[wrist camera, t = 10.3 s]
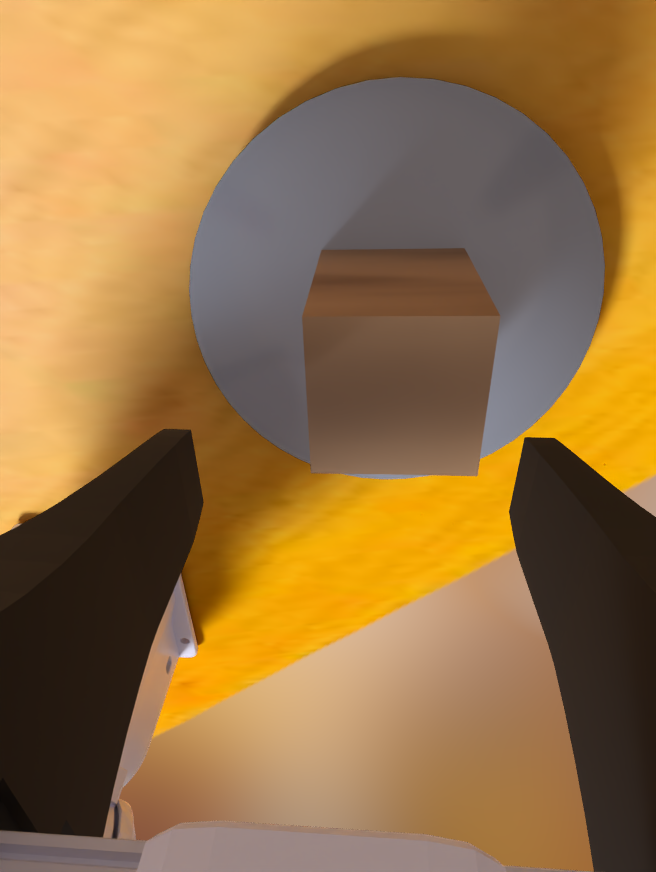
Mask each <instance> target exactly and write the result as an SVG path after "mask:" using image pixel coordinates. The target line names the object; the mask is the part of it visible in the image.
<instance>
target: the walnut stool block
mask: <svg viewBox="0 0 656 872" xmlns="http://www.w3.org/2000/svg"><path fill="white" fill-rule="evenodd" d="M499 323H500V314H499V312H498V310H497V308H496V307H495V305H494V303H493V301H492V299H491V297H490V295H489V293H488V291H487V290H486V288H485V286H484V284H483V282H482V280H481V278H480V276H479V274H478V273H477V271H476V269H475V267H474V265H473V263H472V261H471V259H470V257H469V256H468V254H467V252H466V250H465V248H436V249H352V250H321V253H320V257H319V260H318V264H317V267H316V270H315V274H314V277H313V281H312V284H311V288H310V291H309V294H308V298H307V301H306V305H305V308H304V312H303V315H302V325H303V342H304V360H305V378H306V395H307V413H308V431H309V448H310V466H311V473H331V474H391V475H450V476H477V475H478V468H479V461H480V454H481V447H482V440H483V433H484V427H485V420H486V413H487V406H488V399H489V392H490V385H491V378H492V371H493V364H494V358H495V351H496V344H497V337H498V330H499Z"/></svg>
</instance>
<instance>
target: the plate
mask: <svg viewBox="0 0 656 872" xmlns="http://www.w3.org/2000/svg"><path fill="white" fill-rule="evenodd" d="M436 248H465V250H466V252H467V254H468V256H469V257H470V259H471V261H472V263H473V265H474V267H475V269H476V271H477V273H478V274H479V276H480V278H481V280H482V282H483V284H484V286H485V288H486V290H487V291H488V293H489V295H490V297H491V299H492V301H493V303H494V305H495V307H496V308H497V310H498V312H499V314H500V323H499V330H498V337H497V344H496V351H495V358H494V364H493V371H492V378H491V385H490V392H489V399H488V406H487V413H486V420H485V427H484V433H483V440H482V447H481V454H480V459H481V458H483V457H485V456H487V455H489V454H491V453H493V452H495V451H497V450H498V449H500V448H501V447H503V446H505V445H506V444H508V443H510V442H511V441H513V440H514V439H515V438H517V437H518V436H519V435H521V434H522V433H523V432H525V431H526V430H527V429H528V428H530V427H531V426H532V425H533V424H534V423H535V422H536V421H537V420H538V419H539V418H540V417H542V416H543V415H544V414H545V413H546V412H547V411H548V410H549V409H550V408H551V406H552V405H553V404H554V403H555V401H556V400H557V399H558V398H559V397H560V395H561V394H562V393H563V392H564V390H565V389H566V388H567V386H568V385H569V383H570V381H571V380H572V378H573V377H574V375H575V374H576V372H577V370H578V369H579V367H580V365H581V363H582V361H583V359H584V357H585V355H586V352H587V350H588V348H589V346H590V344H591V341H592V338H593V335H594V332H595V329H596V326H597V323H598V320H599V315H600V309H601V304H602V298H603V293H604V272H605V262H604V252H603V242H602V235H601V231H600V227H599V223H598V219H597V215H596V211H595V208H594V206H593V203H592V201H591V199H590V196H589V194H588V192H587V189H586V187H585V185H584V182H583V181H582V179H581V177H580V176H579V174H578V173H577V171H576V169H575V168H574V166H573V165H572V163H571V161H570V160H569V158H568V157H567V156H566V154H565V153H564V152H563V151H562V150H561V149H560V148H559V146H558V145H557V144H556V143H555V142H554V141H553V139H552V138H551V137H550V136H549V135H548V134H547V133H546V132H545V131H544V130H542V129H541V128H540V127H539V126H538V125H536V124H535V123H534V122H533V121H531V120H530V119H529V118H528V117H527V116H525V115H524V114H523V113H521V112H519V111H518V110H516V109H514V108H513V107H511V106H509V105H508V104H506V103H504V102H502V101H501V100H499V99H497V98H495V97H493V96H490V95H488V94H485V93H483V92H480V91H477V90H475V89H472V88H470V87H467V86H464V85H459V84H454V83H450V82H445V81H440V80H436V79H426V78H407V77H394V78H384V79H374V80H366V81H363V82H359V83H355V84H351V85H347V86H343V87H339V88H336V89H334V90H331V91H329V92H327V93H324V94H322V95H320V96H317V97H315V98H312V99H310V100H308V101H305V102H304V103H302V104H300V105H299V106H297V107H296V108H294V109H292V110H291V111H289V112H287V113H286V114H284V115H282V116H281V117H279V118H278V119H276V120H275V121H274V122H273V123H272V124H270V125H269V126H268V127H267V128H266V129H264V130H263V131H262V132H261V133H260V134H258V135H257V136H256V137H255V138H254V139H253V140H252V141H251V142H250V143H249V144H248V145H247V146H246V147H245V149H244V150H243V151H242V152H241V153H240V154H239V155H238V156H237V157H236V159H235V160H234V161H233V162H232V164H231V165H230V167H229V168H228V169H227V171H226V172H225V174H224V175H223V177H222V178H221V180H220V181H219V183H218V184H217V186H216V188H215V190H214V192H213V194H212V196H211V198H210V200H209V202H208V204H207V206H206V208H205V210H204V213H203V216H202V219H201V222H200V225H199V228H198V231H197V234H196V237H195V242H194V248H193V253H192V259H191V265H190V287H189V293H190V304H191V315H192V320H193V325H194V329H195V334H196V338H197V342H198V345H199V347H200V350H201V353H202V355H203V358H204V361H205V364H206V365H207V367H208V369H209V371H210V373H211V375H212V377H213V379H214V381H215V383H216V385H217V386H218V388H219V389H220V390H221V392H222V393H223V395H224V396H225V398H226V399H227V401H228V402H229V404H230V405H231V406H232V407H233V408H234V409H235V410H236V412H237V413H238V414H239V415H240V416H241V417H242V418H243V419H244V421H246V422H247V423H248V424H249V425H250V426H251V427H252V428H253V429H254V430H256V431H257V432H258V433H259V434H260V435H261V436H263V437H264V438H265V439H267V440H268V441H270V442H271V443H272V444H274V445H275V446H277V447H278V448H280V449H281V450H283V451H285V452H287V453H289V454H290V455H292V456H294V457H296V458H298V459H300V460H302V461H305V462H307V463H310V448H309V431H308V413H307V395H306V378H305V360H304V342H303V325H302V315H303V312H304V308H305V305H306V301H307V298H308V294H309V291H310V288H311V284H312V281H313V277H314V274H315V270H316V267H317V264H318V260H319V257H320V253H321V250H352V249H436ZM345 475H350V476H356V477H361V478H374V479H406V478H414V477H422V476H429V475H391V474H345Z"/></svg>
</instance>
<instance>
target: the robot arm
mask: <svg viewBox="0 0 656 872" xmlns="http://www.w3.org/2000/svg"><path fill="white" fill-rule="evenodd" d="M203 503H204V502H203V497H202V491H201V485H200V479H199V474H198V468H197V462H196V456H195V451H194V445H193V439H192V433H191V430H178V429H163V430H162V431H160V432H159V433H157V434H156V435H154V436H153V437H151V438H150V439H149V440H147V441H146V442H145V443H143V444H142V445H140V446H139V447H138V448H136V449H135V450H134V451H132V452H131V453H130V454H128V455H127V456H126V457H124V458H123V459H122V460H120V461H119V462H118V463H116V464H115V465H113V466H112V467H111V468H109V469H108V470H107V471H105V472H104V473H102V474H101V475H100V476H98V477H97V478H95V479H94V480H92V481H91V482H89V483H88V484H86V485H85V486H83V487H82V488H80V489H79V490H77V491H76V492H74V493H73V494H71V495H70V496H68V497H67V498H65V499H64V500H62V501H61V502H59V503H58V504H56V505H54V506H53V507H51V508H49V509H48V510H46V511H44V512H43V513H41V514H39V515H37V516H36V517H34V518H32V519H30V520H28V521H27V522H25V523H23V524H16V525H15V526H14V527H13V528H12V529H11V530H10V531H8V532H6V533H4V534H2V535H0V872H591V871H576V870H561V869H546V868H533V867H518V866H504V865H502V864H501V863H500V862H499V861H497V860H496V859H495V858H494V857H492V856H490V855H489V854H487V853H485V852H483V851H482V850H480V849H478V848H477V847H475V846H473V845H471V844H470V843H468V842H463V841H458V840H452V839H447V838H442V837H437V836H432V835H427V834H413V833H399V832H384V831H369V830H354V829H338V828H324V827H308V826H294V825H279V824H264V823H249V822H234V821H205V822H190V823H180V824H178V825H176V826H174V827H172V828H170V829H168V830H165V831H163V832H161V833H159V834H157V835H156V836H154V837H153V838H151V839H150V840H148V841H146V840H135V830H134V818H133V813H132V808H131V807H130V805H129V804H128V803H127V802H126V801H123V800H121V799H119V796H120V793H121V790H122V788H123V787H124V786H125V785H126V784H127V783H128V782H129V780H130V779H131V778H132V777H133V776H134V774H135V773H136V772H137V770H138V769H139V767H140V766H141V764H142V762H143V760H144V758H145V756H146V753H147V751H148V748H149V745H150V742H151V739H152V736H153V733H154V730H155V727H156V724H157V721H158V718H159V715H160V712H161V709H162V706H163V703H164V700H165V697H166V694H167V691H168V688H169V685H170V682H171V679H172V676H173V673H174V670H175V667H176V664H177V661H178V658H179V657H194V656H195V655H196V654H197V651H198V645H197V641H196V637H195V632H194V628H193V624H192V619H191V615H190V611H189V606H188V602H187V598H186V593H185V589H184V585H183V580H182V576H181V572H182V569H183V567H184V564H185V562H186V559H187V557H188V554H189V552H190V549H191V547H192V544H193V542H194V538H195V535H196V531H197V527H198V523H199V519H200V515H201V511H202V507H203ZM509 514H510V520H511V525H512V531H513V536H514V541H515V546H516V551H517V554H518V557H519V561H520V564H521V567H522V569H523V572H524V575H525V578H526V581H527V584H528V587H529V590H530V593H531V596H532V599H533V602H534V605H535V607H536V610H537V613H538V616H539V619H540V622H541V625H542V628H543V630H544V634H545V636H546V639H547V642H548V645H549V649H550V652H551V655H552V659H553V662H554V666H555V670H556V674H557V679H558V683H559V687H560V692H561V696H562V701H563V705H564V709H565V714H566V719H567V723H568V729H569V733H570V739H571V743H572V748H573V753H574V758H575V763H576V769H577V774H578V779H579V785H580V791H581V796H582V801H583V806H584V812H585V818H586V824H587V830H588V836H589V843H590V849H591V855H592V861H593V867H594V872H656V517H655V516H653V515H652V514H651V513H649V512H648V511H646V510H645V509H643V508H642V507H640V506H639V505H638V504H637V503H635V502H634V501H633V500H631V499H630V498H629V497H627V496H626V495H625V494H623V493H622V492H621V491H620V490H618V489H617V488H616V487H615V486H613V485H612V484H611V483H610V482H608V481H607V480H606V479H605V478H603V477H602V476H601V475H600V474H598V473H597V472H596V471H595V470H594V469H592V468H591V467H590V466H589V465H588V464H586V463H585V462H584V461H583V460H581V459H580V458H579V457H578V456H577V455H575V454H574V453H573V452H572V451H571V450H569V449H568V448H567V447H566V446H564V445H563V444H562V443H560V442H559V441H558V440H556V439H555V438H531V437H525V439H524V443H523V448H522V453H521V458H520V462H519V467H518V472H517V477H516V482H515V486H514V491H513V496H512V501H511V505H510V510H509Z"/></svg>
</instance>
